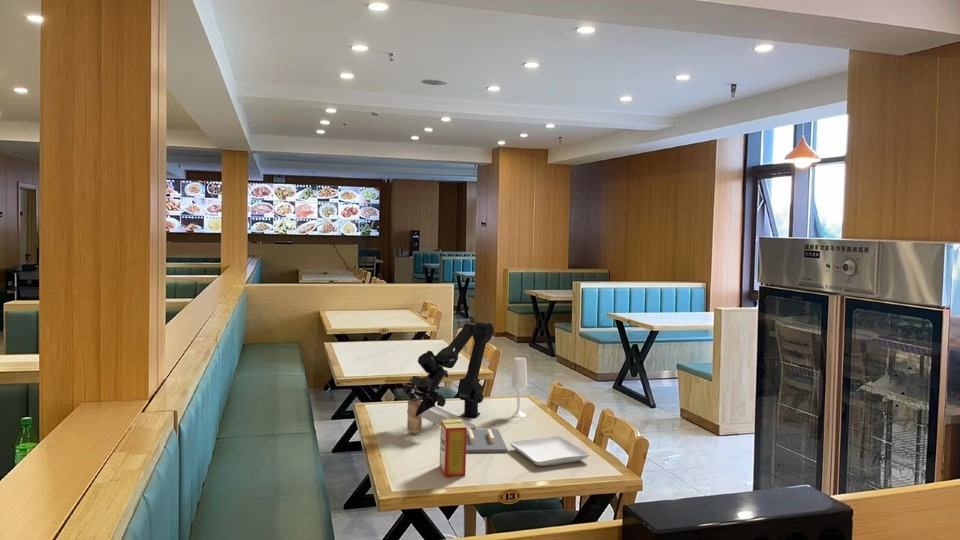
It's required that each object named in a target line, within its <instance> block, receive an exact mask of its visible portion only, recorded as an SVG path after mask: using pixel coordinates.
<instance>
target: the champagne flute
mask: <svg viewBox="0 0 960 540" xmlns="http://www.w3.org/2000/svg"><path fill="white" fill-rule="evenodd" d="M512 368H513V370H512V377H511V387H512V389H514V391H515V392H517V398H516V400H517V403H516V404H517V405H516V410H515V411H513V412H511V413H510V414H509V415H510V416H511V417H514V418H524V417H526V416H527V413H526V414H525V413H524V412H523V411H521V393H523V392H524V391H525V389H526V388H527V387H528V373H527V358H526V357H521V356H520V357H515V358H514V361H513V367H512Z"/></svg>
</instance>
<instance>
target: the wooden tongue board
mask: <svg viewBox="0 0 960 540" xmlns="http://www.w3.org/2000/svg"><path fill="white" fill-rule="evenodd" d="M421 403H422V400H421V399H420V398H419V397H418V398H416V399H412V400H410V399H408V400H407V410H408V413H407V422H406V425H407V426H406V427H407V428H406V429H407V430H406V431H408V432H411V433H415V434H416V433H419V432H422V422H423V418H422V414H420V415H418V416H416V415H415V414H416V412H417V410H418V408H419V406H420V405H421Z"/></svg>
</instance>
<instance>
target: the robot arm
mask: <svg viewBox="0 0 960 540" xmlns="http://www.w3.org/2000/svg"><path fill="white" fill-rule="evenodd" d="M494 330H495V328H494V326H493V323H491V322H485V321H477V322H475V323H471V322H467V323H465V324H463V327H462V328H461V330H460V331H459V332H458V334H457V335H456V336H455V338H454V339H453V340H452V341H451V342H450V344H449V345H448V346H446V347H443V348H441V349H440V350H439V352H437V354H436V355H435V354H434V352H433V351H432V350H427V352H424V353H423V354H421V355H419V357H418V358H417V363H418V364H419V366H420V367H421V369H423V371H424V372H425V373H426V374H427V375H426V376H423V377H420V376H416V375H412V378H411V381H410V384H404V385H403V386H402V388H401V391H403V393H404V394H405V395H406V396H407V397H408V399H409V400H412V399H416V398H419V397H420V398H422V400H421V401H422V403H421V405H420V406H419V408H418V410H417V412H416V414H415V415H416V416H418V415H420V414H422V413H423V412H425V411H426V410H428V409H430V408H432V407H435V406H437V407H440V408H441V407H442V408H443V407H444V406H446V405H445V404H447V403H446V398H445V396H443V395H442V394H441V392H438V391H436V390H440V384H441V382H442V380H443V379H444V378H447V379H448V378H449V373H448V370H447V369H453V367H454V366H455V365H456V363H457V361H458V360H459V353H460V352H461V351H462V350H463V348H464V347H465V346H466V345H467V343H468V342H469V341H470V339H471V338H473V345H472V350H471V353H470V359H469V363H468V366H467V372H466V374H465V376H464V377H463V378H460V379H459V382H458V387H457V389H458V391H457V393H458V395H459V400H461V401H464V402H463V403H464V407H463V413H462V414H461V415H460V416H461V417H465V418H471V419H473V418H474V419H476V418H477V417H479V416H480V415H481V412H479V404H481V403H482V402H483V401H484V395H483V394H482V393H481V391H480V388H481V387H480V386H481V384H480V381H479V375H480V371H481V365H482V361H483V358H484V353H485V349H486V346H487V344H488V343H489V342H490V341H491V339H492V337H493V334H494ZM444 368H446V369H444ZM414 386H415V387H414ZM406 412H407V414H408V409H407V411H406Z"/></svg>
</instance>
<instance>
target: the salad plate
mask: <svg viewBox="0 0 960 540" xmlns="http://www.w3.org/2000/svg"><path fill="white" fill-rule="evenodd" d="M509 444H510V446H511V448H513V449H514V450H516V451H517V452H518V453H520V454H521V455H523V456H524V457H525V458H527V459H528V460H530V461H531V462H532V463H533V464H535V465H536V466H538V467H539V466H542V467H543V466H544V467H546V466H553V465H554V466H555V465H562V464H568V463H575V462H578V461H582V460H585V459H587V458H589V457H590V456H591V453H589V452H588V451H586V450H585V449H583V448H581V447H580V446H578V445H576V444H574V443H572V442H570V441H569V440H567V439H565V438H564V437H562V436H560V435H559V436H558V435H557V436H546V437H544V436H543V437H537V438H530V439H519V440H514V441H513V440H511V441H509Z"/></svg>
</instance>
